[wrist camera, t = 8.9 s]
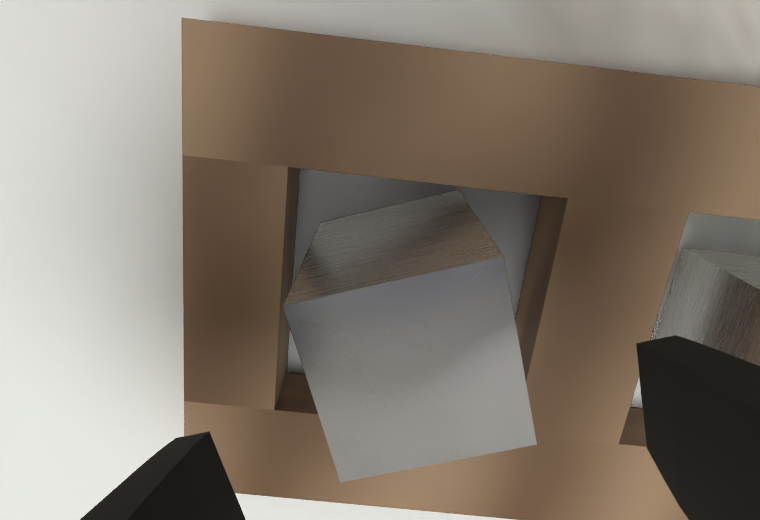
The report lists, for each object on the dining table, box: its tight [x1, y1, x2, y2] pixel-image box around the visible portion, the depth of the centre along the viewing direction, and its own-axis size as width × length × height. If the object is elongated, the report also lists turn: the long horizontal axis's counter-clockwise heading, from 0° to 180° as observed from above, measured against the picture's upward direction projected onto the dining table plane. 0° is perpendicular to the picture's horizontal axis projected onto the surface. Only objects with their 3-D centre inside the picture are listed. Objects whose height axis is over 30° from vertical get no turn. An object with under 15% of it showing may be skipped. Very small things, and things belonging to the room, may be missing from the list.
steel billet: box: [283, 190, 537, 483], centre depth 13 cm, size 4×4×6 cm
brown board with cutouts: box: [182, 18, 760, 520], centre depth 15 cm, size 22×13×2 cm, turn 84°
